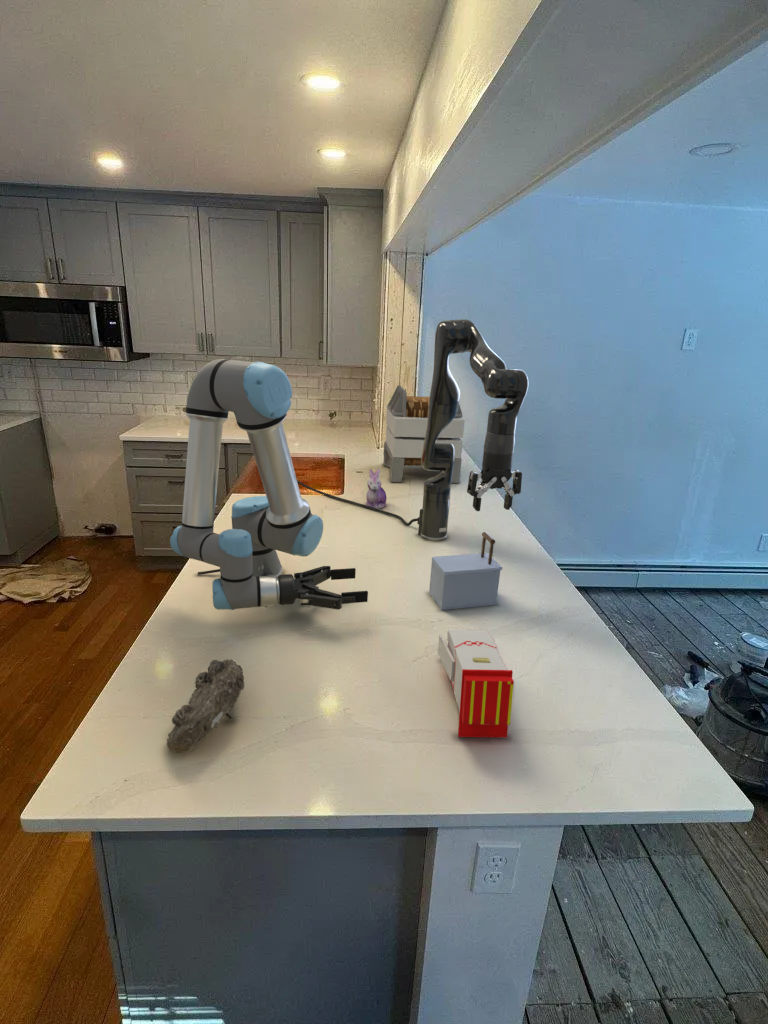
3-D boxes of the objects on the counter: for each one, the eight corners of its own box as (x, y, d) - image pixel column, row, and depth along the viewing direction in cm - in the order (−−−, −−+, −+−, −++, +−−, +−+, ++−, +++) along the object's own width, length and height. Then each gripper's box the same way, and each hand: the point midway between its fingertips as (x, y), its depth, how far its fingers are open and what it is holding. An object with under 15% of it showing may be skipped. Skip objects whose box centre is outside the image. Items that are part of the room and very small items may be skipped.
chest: (481, 588, 163) (484, 555, 160) (496, 604, 155) (500, 570, 151) (429, 593, 159) (431, 559, 156) (441, 610, 150) (444, 575, 147)
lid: (486, 555, 160) (489, 528, 157) (502, 570, 151) (505, 541, 148) (431, 559, 156) (433, 532, 153) (444, 575, 147) (447, 546, 144)
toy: (488, 613, 130) (523, 677, 101) (484, 667, 133) (517, 744, 104) (435, 612, 130) (455, 676, 101) (432, 666, 133) (451, 743, 103)
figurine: (370, 511, 220) (372, 474, 215) (359, 503, 229) (360, 467, 224) (392, 508, 224) (394, 471, 219) (380, 500, 233) (381, 465, 228)
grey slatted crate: (382, 463, 289) (386, 382, 275) (445, 464, 293) (451, 384, 279) (390, 482, 257) (394, 392, 243) (460, 483, 261) (468, 394, 247)
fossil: (192, 660, 117) (244, 628, 112) (224, 691, 120) (276, 661, 115) (142, 746, 98) (202, 712, 93) (182, 779, 101) (242, 748, 96)
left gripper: (273, 582, 153) (350, 576, 159) (283, 629, 130) (372, 621, 136) (273, 556, 151) (351, 552, 156) (282, 599, 128) (373, 592, 134)
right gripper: (479, 454, 139) (472, 516, 144) (531, 452, 143) (523, 513, 148) (467, 446, 146) (461, 506, 151) (516, 445, 149) (509, 503, 155)
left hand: (361, 584), depth 146 cm, fingers open, 13 cm apart
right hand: (491, 509), depth 150 cm, fingers open, 8 cm apart
